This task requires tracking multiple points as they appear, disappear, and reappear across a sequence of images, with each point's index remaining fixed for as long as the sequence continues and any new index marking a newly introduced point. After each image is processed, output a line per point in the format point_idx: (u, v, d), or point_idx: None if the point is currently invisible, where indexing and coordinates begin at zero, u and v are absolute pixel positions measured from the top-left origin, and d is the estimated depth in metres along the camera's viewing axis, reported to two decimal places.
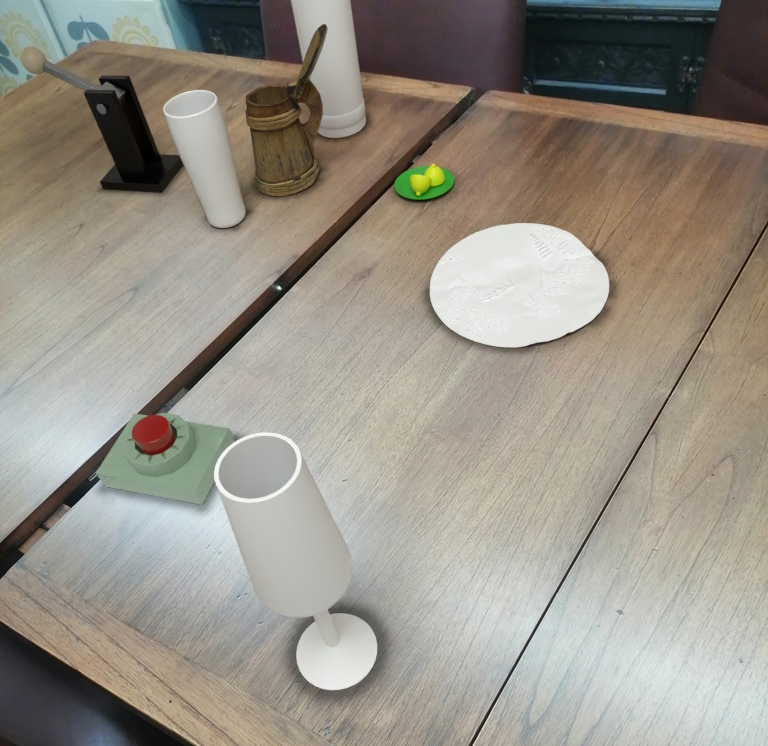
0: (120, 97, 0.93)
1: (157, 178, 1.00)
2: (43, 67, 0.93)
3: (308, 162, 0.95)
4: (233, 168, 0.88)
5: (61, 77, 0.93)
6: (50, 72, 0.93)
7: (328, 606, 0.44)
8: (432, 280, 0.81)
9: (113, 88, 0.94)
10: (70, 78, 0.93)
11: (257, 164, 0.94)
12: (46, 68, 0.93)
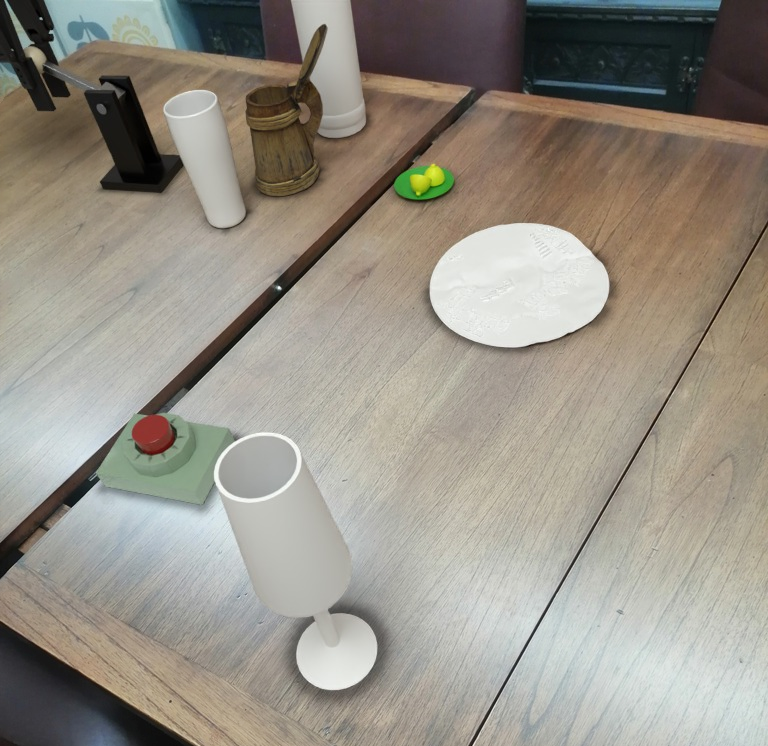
0: (120, 97, 0.93)
1: (157, 178, 1.00)
2: (43, 67, 0.93)
3: (308, 162, 0.95)
4: (233, 168, 0.88)
5: (61, 77, 0.93)
6: (50, 72, 0.93)
7: (328, 606, 0.44)
8: (432, 280, 0.81)
9: (113, 88, 0.94)
10: (70, 78, 0.93)
11: (257, 164, 0.94)
12: (46, 68, 0.93)
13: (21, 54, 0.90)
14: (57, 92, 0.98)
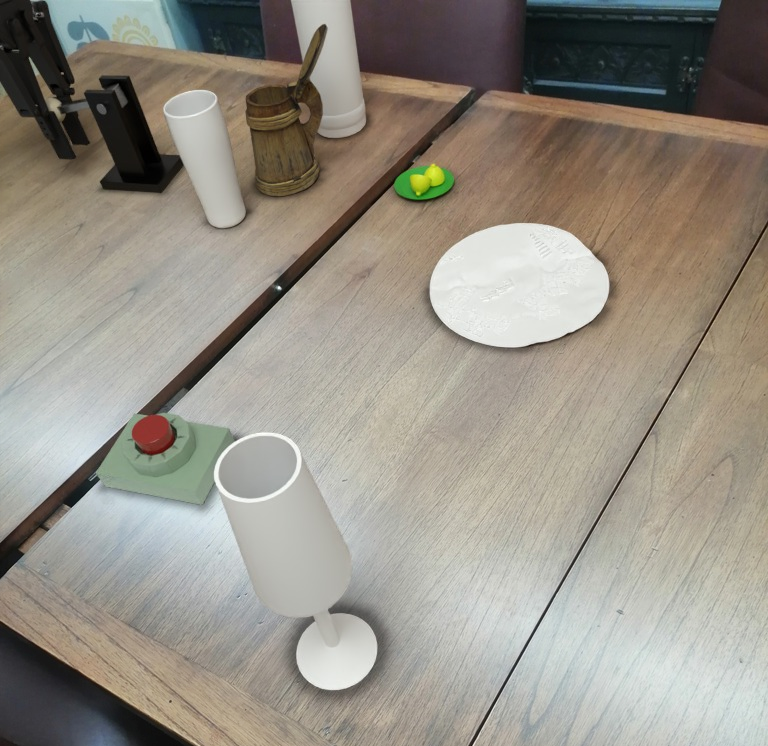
0: None
1: (157, 178, 1.00)
2: (58, 110, 0.98)
3: (308, 162, 0.95)
4: (233, 168, 0.88)
5: (73, 108, 0.97)
6: (65, 110, 0.97)
7: (328, 606, 0.44)
8: (432, 280, 0.81)
9: (108, 87, 0.94)
10: (77, 103, 0.96)
11: (257, 164, 0.94)
12: (61, 109, 0.97)
13: (44, 109, 0.95)
14: (77, 140, 1.04)
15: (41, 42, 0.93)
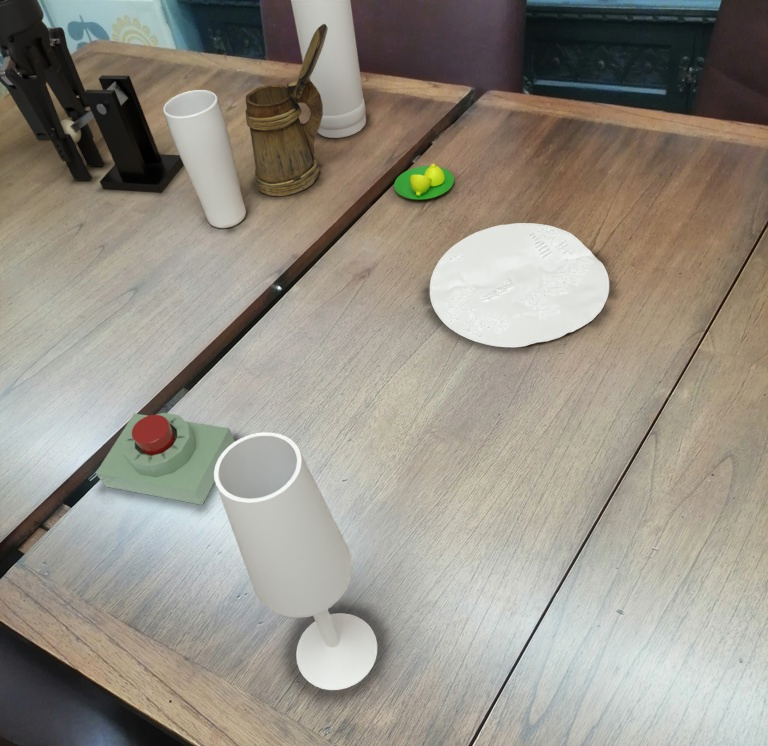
0: (111, 88, 0.93)
1: (157, 178, 1.00)
2: (72, 128, 0.99)
3: (308, 162, 0.95)
4: (233, 168, 0.88)
5: (83, 122, 0.98)
6: (77, 127, 0.99)
7: (328, 606, 0.44)
8: (432, 280, 0.81)
9: (107, 88, 0.94)
10: (85, 115, 0.97)
11: (257, 164, 0.94)
12: (73, 127, 0.99)
13: (61, 132, 0.98)
14: (92, 161, 1.06)
15: (58, 68, 0.95)
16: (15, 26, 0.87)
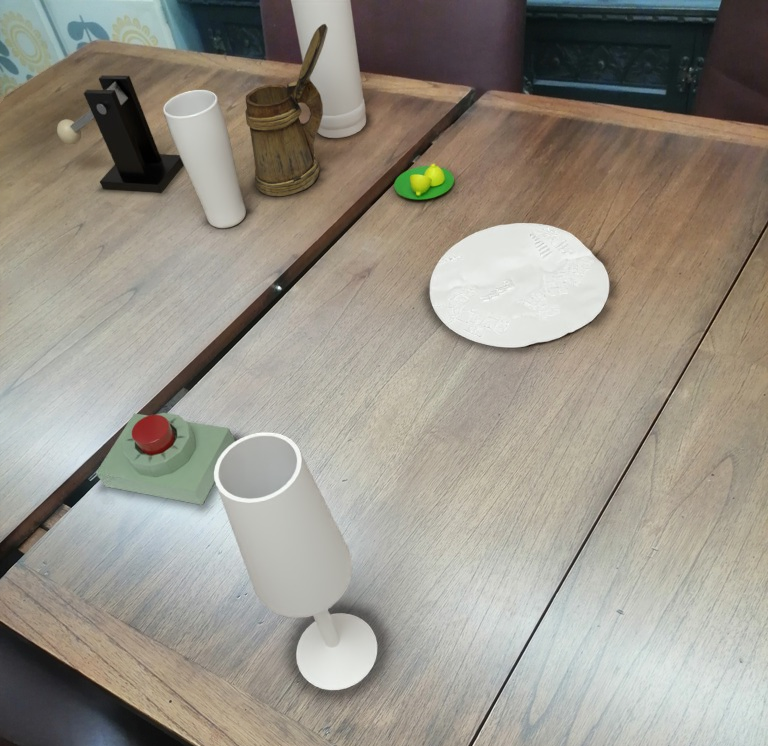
0: (111, 88, 0.93)
1: (157, 178, 1.00)
2: (72, 128, 0.99)
3: (308, 162, 0.95)
4: (233, 168, 0.88)
5: (83, 122, 0.98)
6: (77, 127, 0.99)
7: (328, 606, 0.44)
8: (432, 280, 0.81)
9: (107, 88, 0.94)
10: (85, 115, 0.97)
11: (257, 164, 0.94)
12: (73, 127, 0.99)
13: None
14: None
15: None
16: None
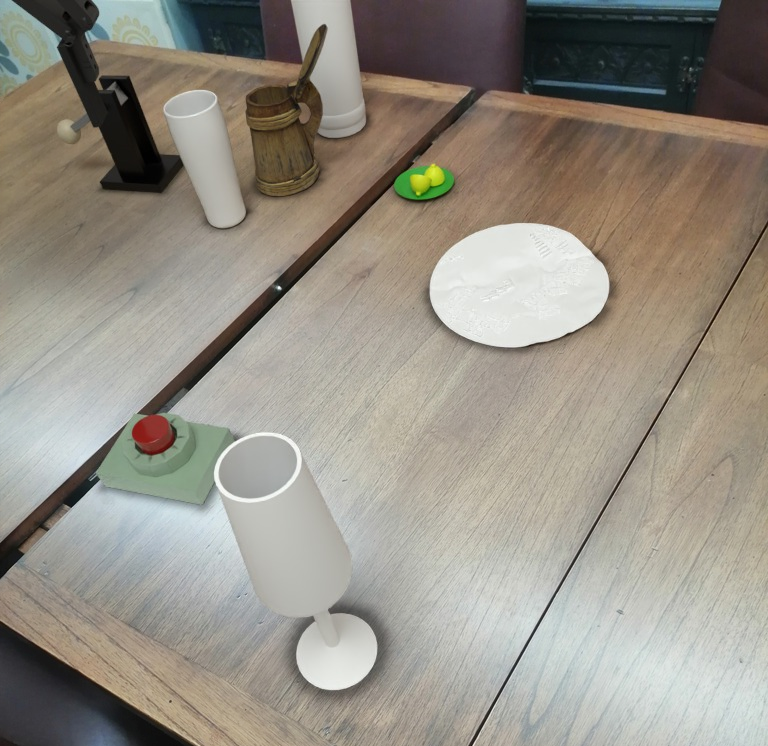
0: (111, 88, 0.93)
1: (157, 178, 1.00)
2: (72, 128, 0.99)
3: (308, 162, 0.95)
4: (233, 168, 0.88)
5: (83, 122, 0.98)
6: (77, 127, 0.99)
7: (328, 606, 0.44)
8: (432, 280, 0.81)
9: (107, 88, 0.94)
10: (85, 115, 0.97)
11: (257, 164, 0.94)
12: (73, 127, 0.99)
13: None
14: None
15: None
16: None
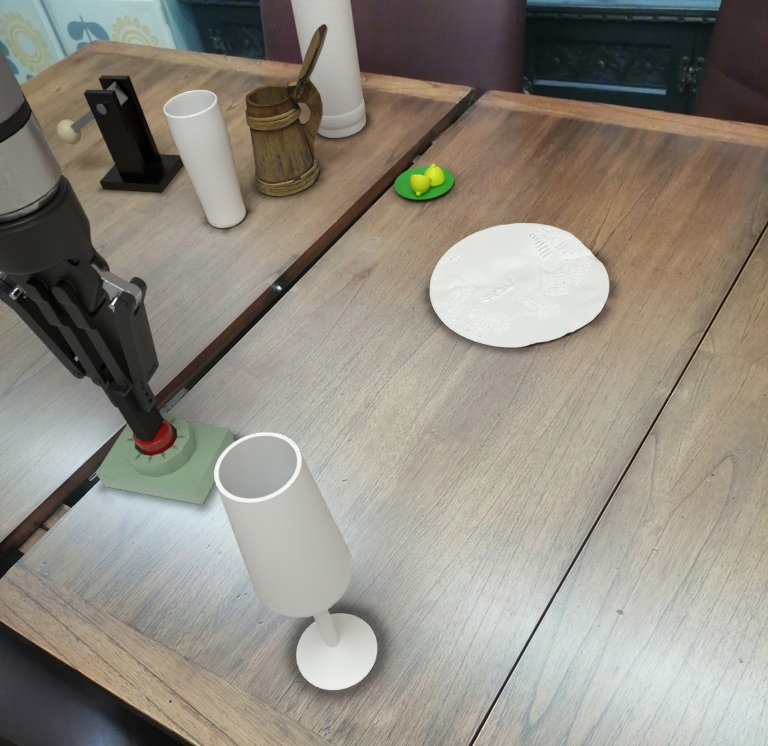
0: (111, 88, 0.93)
1: (157, 178, 1.00)
2: (72, 128, 0.99)
3: (308, 162, 0.95)
4: (233, 168, 0.88)
5: (83, 122, 0.98)
6: (77, 127, 0.99)
7: (328, 606, 0.44)
8: (432, 280, 0.81)
9: (107, 88, 0.94)
10: (85, 115, 0.97)
11: (257, 164, 0.94)
12: (73, 127, 0.99)
13: (95, 380, 0.59)
14: None
15: (82, 326, 0.53)
16: None
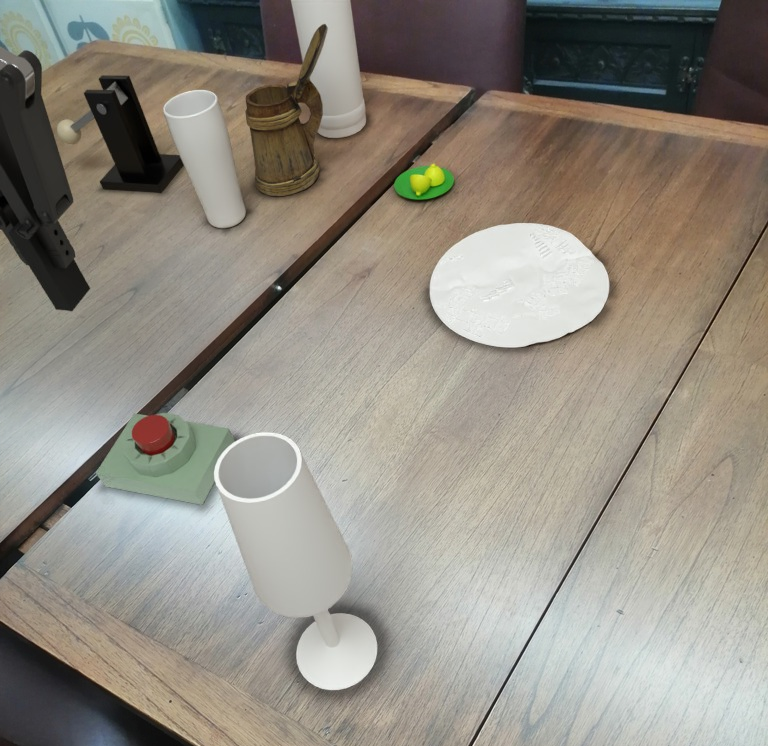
0: (111, 88, 0.93)
1: (157, 178, 1.00)
2: (72, 128, 0.99)
3: (308, 162, 0.95)
4: (233, 168, 0.88)
5: (83, 122, 0.98)
6: (77, 127, 0.99)
7: (328, 606, 0.44)
8: (432, 280, 0.81)
9: (107, 88, 0.94)
10: (85, 115, 0.97)
11: (257, 164, 0.94)
12: (73, 127, 0.99)
13: None
14: None
15: None
16: None
